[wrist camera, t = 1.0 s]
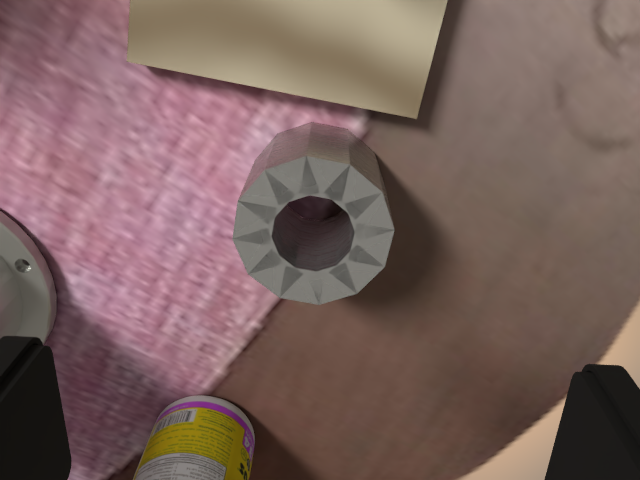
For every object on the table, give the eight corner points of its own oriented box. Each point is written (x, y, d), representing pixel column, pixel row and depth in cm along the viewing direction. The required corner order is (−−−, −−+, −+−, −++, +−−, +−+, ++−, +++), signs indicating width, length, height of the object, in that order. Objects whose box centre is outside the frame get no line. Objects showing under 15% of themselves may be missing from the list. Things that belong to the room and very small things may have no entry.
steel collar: (366, 257, 34) (372, 314, 28) (243, 235, 33) (225, 288, 28) (396, 138, 31) (409, 175, 25) (262, 112, 30) (245, 144, 25)
